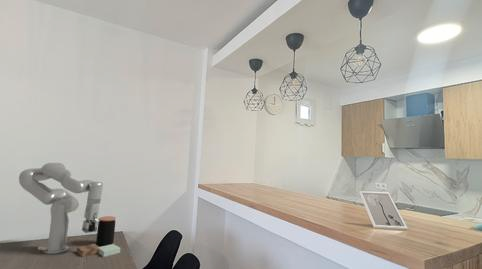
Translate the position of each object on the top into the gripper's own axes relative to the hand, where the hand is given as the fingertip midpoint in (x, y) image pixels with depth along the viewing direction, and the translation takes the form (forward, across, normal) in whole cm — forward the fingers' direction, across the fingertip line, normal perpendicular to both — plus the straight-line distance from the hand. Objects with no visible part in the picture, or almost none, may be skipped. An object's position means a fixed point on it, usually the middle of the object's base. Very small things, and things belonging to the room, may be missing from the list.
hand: (89, 229), depth 161 cm
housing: (+1, 0, 0) cm, 1 cm away
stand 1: (+14, +1, +1) cm, 14 cm away
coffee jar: (+14, -7, +14) cm, 21 cm away
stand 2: (+14, +9, +10) cm, 19 cm away
